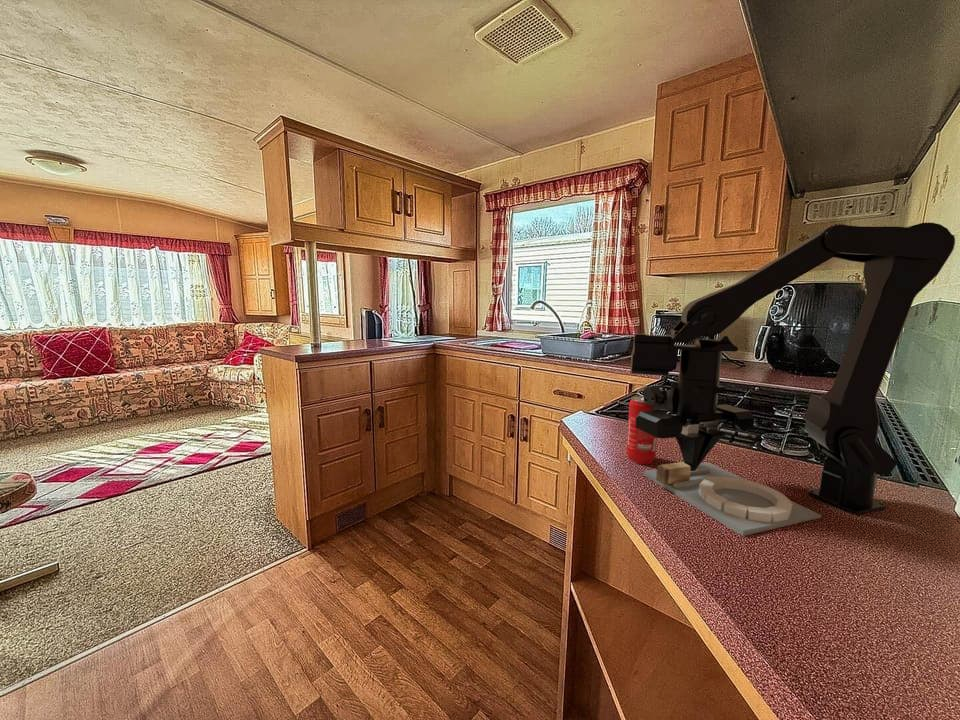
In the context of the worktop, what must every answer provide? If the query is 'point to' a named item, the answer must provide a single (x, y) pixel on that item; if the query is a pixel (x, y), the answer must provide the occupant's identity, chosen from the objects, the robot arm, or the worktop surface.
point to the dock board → (736, 500)
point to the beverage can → (639, 435)
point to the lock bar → (673, 473)
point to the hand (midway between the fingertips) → (690, 470)
